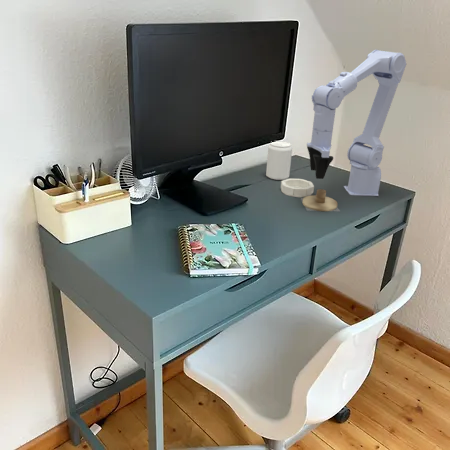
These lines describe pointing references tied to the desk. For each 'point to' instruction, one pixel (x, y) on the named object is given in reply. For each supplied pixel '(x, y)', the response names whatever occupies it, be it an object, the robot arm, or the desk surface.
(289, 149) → the beverage can
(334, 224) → the desk surface
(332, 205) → the lid
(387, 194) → the desk surface
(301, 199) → the mat
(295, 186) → the bowl
